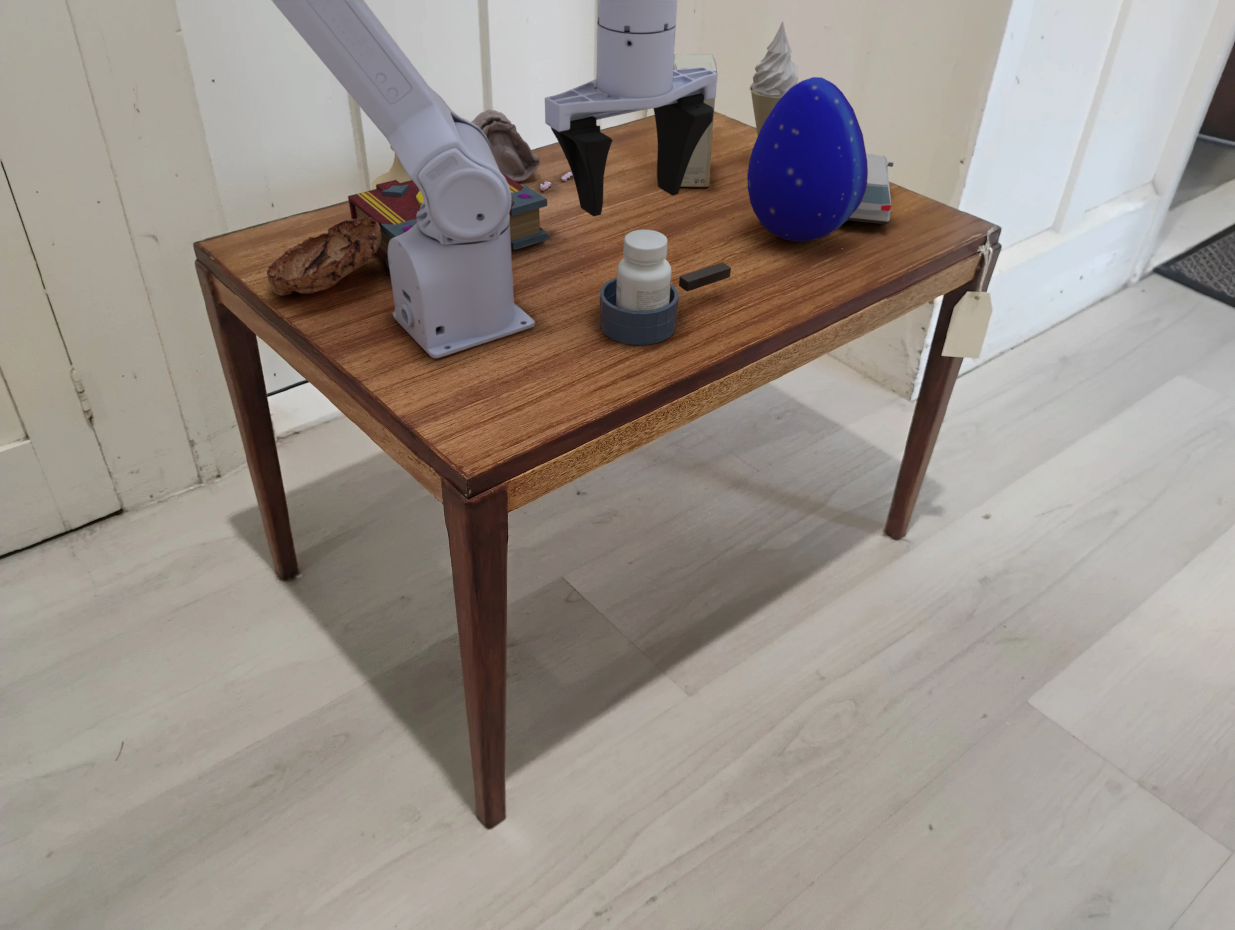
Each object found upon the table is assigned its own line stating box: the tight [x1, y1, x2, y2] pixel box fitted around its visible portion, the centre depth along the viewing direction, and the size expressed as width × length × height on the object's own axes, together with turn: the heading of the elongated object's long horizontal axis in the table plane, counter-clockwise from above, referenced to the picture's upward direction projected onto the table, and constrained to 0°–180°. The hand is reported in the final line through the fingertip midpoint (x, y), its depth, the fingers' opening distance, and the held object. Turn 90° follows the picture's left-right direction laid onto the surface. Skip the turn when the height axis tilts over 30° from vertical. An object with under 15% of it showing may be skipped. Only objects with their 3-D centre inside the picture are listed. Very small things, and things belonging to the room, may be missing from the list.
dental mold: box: [471, 109, 541, 182], centre depth 103 cm, size 8×7×5 cm
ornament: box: [746, 76, 868, 242], centre depth 90 cm, size 11×9×15 cm
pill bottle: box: [616, 229, 672, 312], centre depth 78 cm, size 4×4×8 cm
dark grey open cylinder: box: [598, 276, 680, 346], centre depth 80 cm, size 6×6×3 cm
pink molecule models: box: [539, 171, 573, 192], centre depth 102 cm, size 15×2×1 cm, turn 141°
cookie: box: [266, 216, 381, 296], centre depth 84 cm, size 10×11×3 cm
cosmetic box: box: [673, 52, 718, 188], centre depth 101 cm, size 6×4×12 cm
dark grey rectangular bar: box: [678, 261, 732, 293], centre depth 83 cm, size 5×1×1 cm, turn 125°
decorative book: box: [347, 172, 551, 268], centre depth 90 cm, size 11×16×5 cm
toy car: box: [847, 152, 894, 225], centre depth 99 cm, size 6×13×5 cm, turn 171°
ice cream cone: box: [749, 21, 799, 136], centre depth 104 cm, size 5×5×15 cm
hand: (630, 200), depth 78 cm, fingers open, 7 cm apart
